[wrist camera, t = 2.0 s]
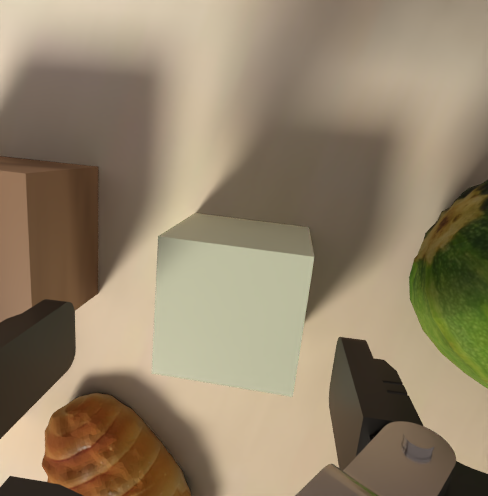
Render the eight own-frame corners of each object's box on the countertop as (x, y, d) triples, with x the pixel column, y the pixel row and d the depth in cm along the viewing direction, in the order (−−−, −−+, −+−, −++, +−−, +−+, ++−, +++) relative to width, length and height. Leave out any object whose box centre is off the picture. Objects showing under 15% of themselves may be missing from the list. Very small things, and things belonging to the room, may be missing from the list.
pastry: (32, 405, 21) (-22, 458, 18) (140, 369, 20) (106, 418, 16) (109, 540, 23) (74, 614, 19) (213, 515, 22) (197, 590, 18)
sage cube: (308, 226, 17) (314, 256, 12) (293, 332, 18) (292, 397, 13) (195, 212, 17) (158, 236, 13) (188, 316, 19) (151, 373, 14)
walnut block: (99, 166, 18) (25, 173, 13) (99, 292, 19) (33, 341, 14) (-25, 153, 18) (-141, 154, 13) (-15, 276, 20) (-116, 317, 15)
